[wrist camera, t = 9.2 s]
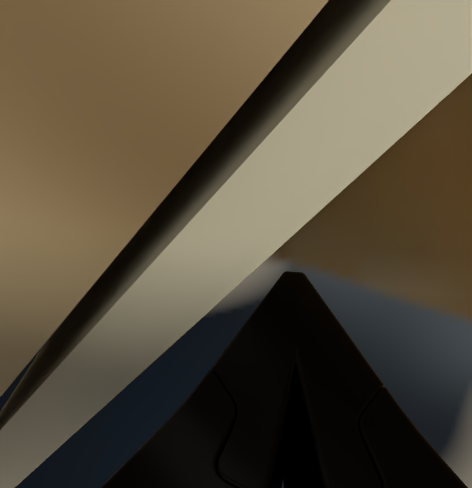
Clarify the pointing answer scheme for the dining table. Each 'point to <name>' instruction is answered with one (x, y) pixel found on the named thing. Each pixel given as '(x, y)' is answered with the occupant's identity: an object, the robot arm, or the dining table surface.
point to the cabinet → (109, 132)
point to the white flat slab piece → (241, 204)
